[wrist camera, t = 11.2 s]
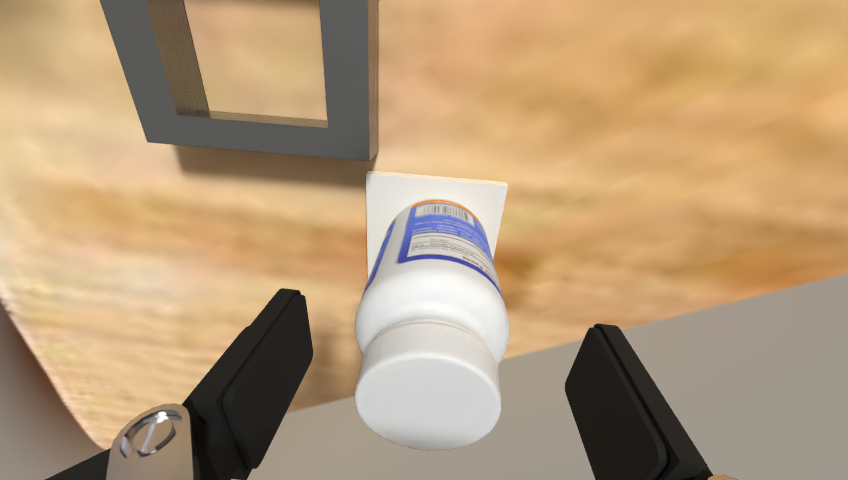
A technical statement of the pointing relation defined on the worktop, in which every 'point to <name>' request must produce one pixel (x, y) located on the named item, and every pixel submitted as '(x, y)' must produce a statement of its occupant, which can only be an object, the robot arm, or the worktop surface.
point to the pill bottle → (432, 331)
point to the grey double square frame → (197, 126)
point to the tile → (402, 190)
